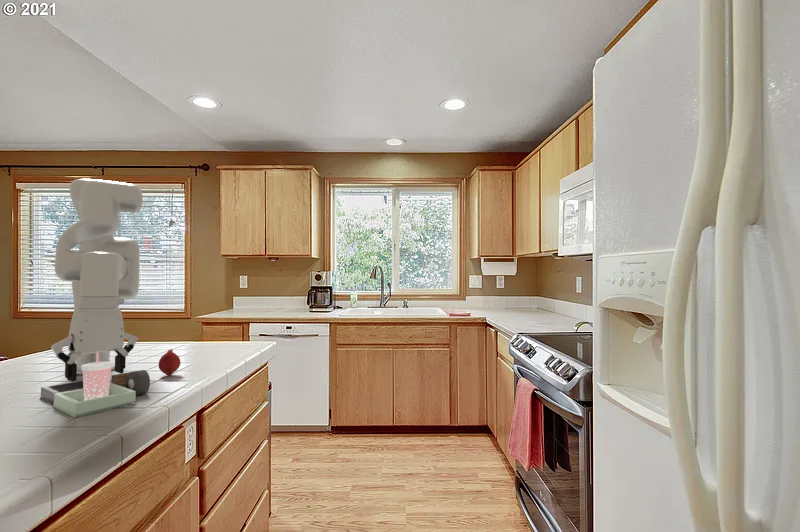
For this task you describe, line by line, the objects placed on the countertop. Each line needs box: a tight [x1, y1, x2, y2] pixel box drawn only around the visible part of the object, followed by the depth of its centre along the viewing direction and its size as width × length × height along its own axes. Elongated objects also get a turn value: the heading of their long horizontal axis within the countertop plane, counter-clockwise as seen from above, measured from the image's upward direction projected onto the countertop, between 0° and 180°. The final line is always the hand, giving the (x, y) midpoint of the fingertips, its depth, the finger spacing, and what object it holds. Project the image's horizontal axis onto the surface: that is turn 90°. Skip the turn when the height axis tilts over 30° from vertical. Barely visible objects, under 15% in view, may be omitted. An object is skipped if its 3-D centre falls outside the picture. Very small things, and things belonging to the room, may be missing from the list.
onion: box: [158, 348, 181, 376], centre depth 126 cm, size 6×6×8 cm
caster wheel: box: [126, 369, 151, 396], centre depth 106 cm, size 6×3×6 cm, turn 57°
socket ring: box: [40, 379, 83, 404], centre depth 104 cm, size 10×10×2 cm
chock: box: [111, 371, 134, 388], centre depth 110 cm, size 5×6×4 cm
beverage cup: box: [81, 352, 114, 401], centre depth 97 cm, size 6×6×14 cm
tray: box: [53, 382, 137, 418], centre depth 97 cm, size 12×12×3 cm
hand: (96, 376), depth 97 cm, fingers open, 9 cm apart
